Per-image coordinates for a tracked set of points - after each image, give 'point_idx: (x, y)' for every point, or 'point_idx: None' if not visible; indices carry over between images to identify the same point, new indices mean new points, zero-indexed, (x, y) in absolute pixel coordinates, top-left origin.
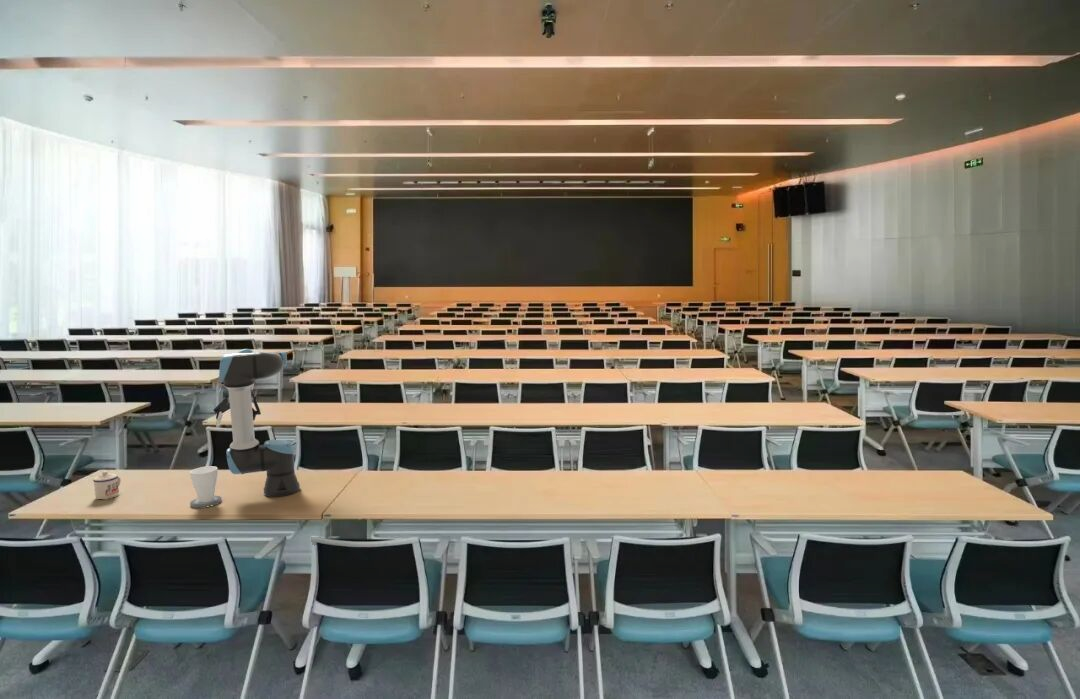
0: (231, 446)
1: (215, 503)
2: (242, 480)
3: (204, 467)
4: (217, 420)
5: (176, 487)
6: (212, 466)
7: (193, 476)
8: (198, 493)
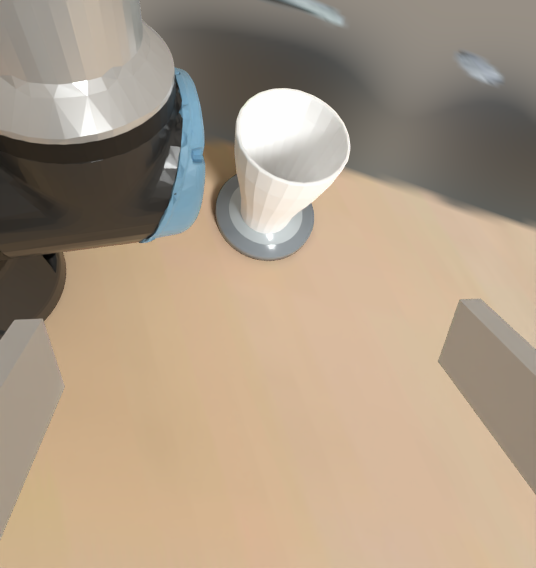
0: (149, 26)
1: (224, 186)
2: (215, 486)
3: (313, 183)
4: (499, 323)
5: (463, 423)
6: (275, 176)
7: (313, 109)
8: (285, 169)
